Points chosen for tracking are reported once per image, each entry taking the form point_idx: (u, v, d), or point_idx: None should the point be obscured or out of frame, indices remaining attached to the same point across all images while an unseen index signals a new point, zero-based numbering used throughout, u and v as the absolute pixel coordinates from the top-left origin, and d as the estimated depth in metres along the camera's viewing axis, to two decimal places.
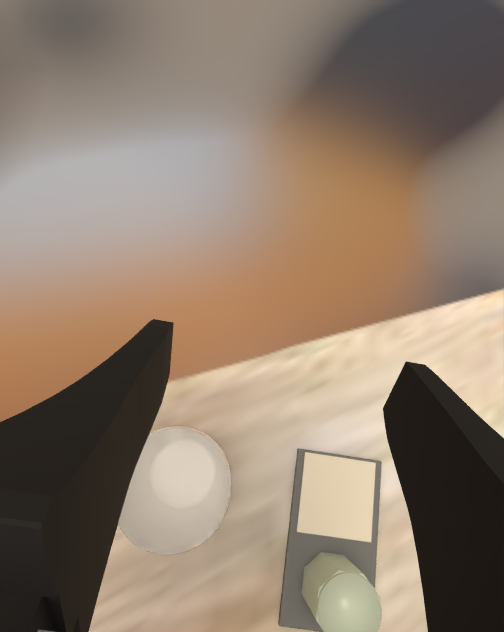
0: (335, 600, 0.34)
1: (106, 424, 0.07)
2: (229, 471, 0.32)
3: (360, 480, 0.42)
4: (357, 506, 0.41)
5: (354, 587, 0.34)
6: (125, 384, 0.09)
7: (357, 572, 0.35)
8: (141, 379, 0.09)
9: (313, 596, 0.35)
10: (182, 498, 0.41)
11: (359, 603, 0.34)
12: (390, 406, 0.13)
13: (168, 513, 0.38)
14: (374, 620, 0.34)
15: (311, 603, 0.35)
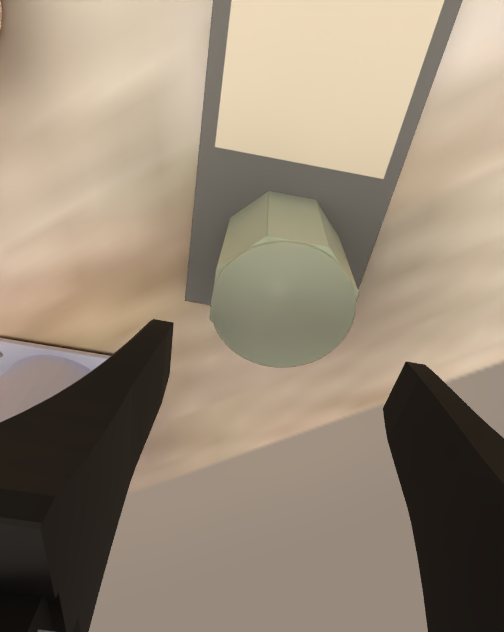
0: (250, 293, 0.15)
1: (106, 424, 0.07)
2: None
3: (396, 17, 0.15)
4: (370, 93, 0.16)
5: (298, 273, 0.14)
6: (125, 384, 0.09)
7: (316, 242, 0.14)
8: (141, 379, 0.09)
9: None
10: None
11: (305, 302, 0.15)
12: (390, 406, 0.13)
13: None
14: (333, 331, 0.16)
15: None
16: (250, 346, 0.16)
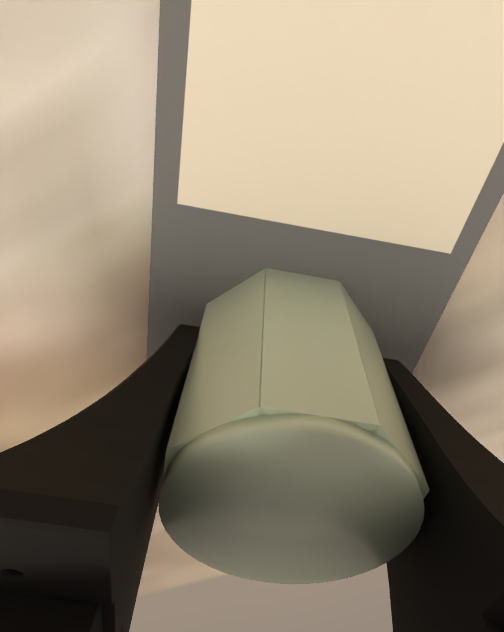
0: (230, 495, 0.08)
1: (152, 431, 0.07)
2: None
3: None
4: (440, 119, 0.09)
5: (321, 472, 0.07)
6: (163, 390, 0.09)
7: (354, 411, 0.08)
8: (176, 385, 0.09)
9: None
10: None
11: (332, 509, 0.08)
12: None
13: None
14: (379, 546, 0.09)
15: None
16: (232, 558, 0.09)
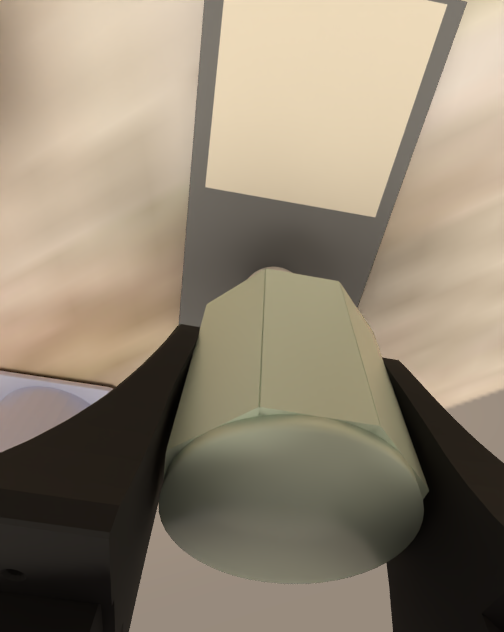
0: (230, 495, 0.08)
1: (152, 431, 0.07)
2: None
3: (385, 62, 0.15)
4: (360, 135, 0.16)
5: (321, 471, 0.07)
6: (163, 390, 0.09)
7: (353, 411, 0.08)
8: (176, 385, 0.09)
9: None
10: None
11: (331, 509, 0.08)
12: None
13: None
14: (379, 546, 0.09)
15: None
16: (232, 558, 0.09)
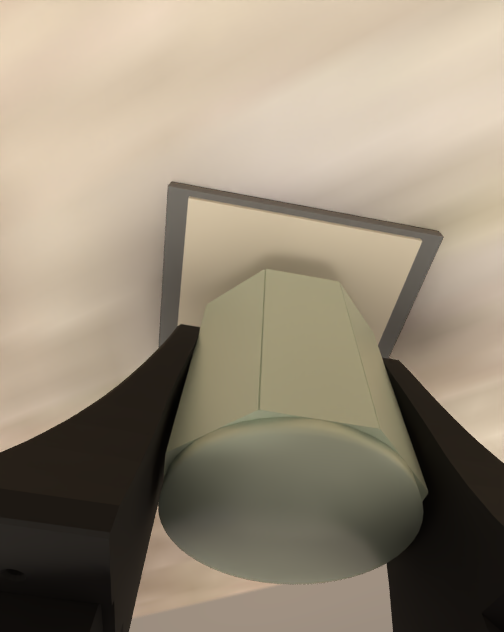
0: (229, 497, 0.08)
1: (152, 431, 0.07)
2: None
3: (357, 285, 0.14)
4: None
5: (320, 474, 0.07)
6: (163, 390, 0.09)
7: (353, 414, 0.08)
8: (176, 385, 0.09)
9: None
10: None
11: (331, 511, 0.08)
12: None
13: None
14: (378, 548, 0.09)
15: None
16: (232, 559, 0.09)
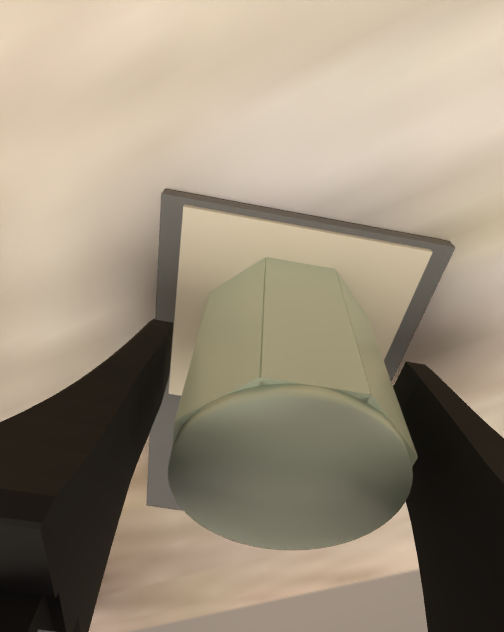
0: (233, 461, 0.09)
1: (106, 424, 0.07)
2: None
3: (363, 298, 0.13)
4: None
5: (317, 436, 0.08)
6: (125, 384, 0.09)
7: (347, 382, 0.08)
8: (141, 379, 0.09)
9: None
10: None
11: (327, 474, 0.09)
12: None
13: None
14: (372, 511, 0.09)
15: None
16: (236, 525, 0.10)
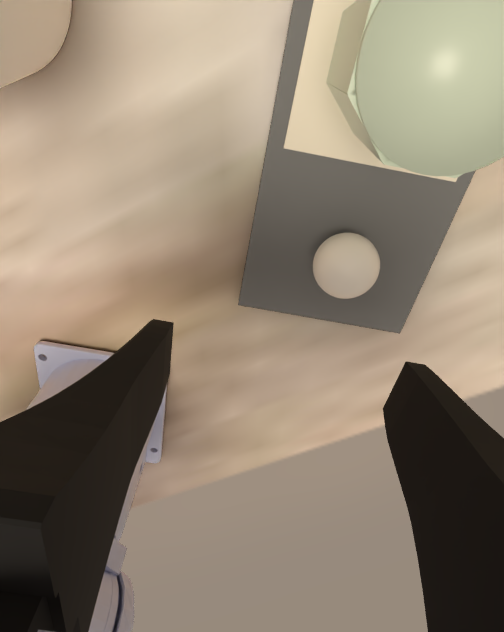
0: (425, 28, 0.10)
1: (106, 424, 0.07)
2: None
3: None
4: None
5: None
6: (125, 384, 0.09)
7: None
8: (141, 379, 0.09)
9: (352, 42, 0.12)
10: None
11: None
12: (390, 406, 0.13)
13: None
14: None
15: (343, 69, 0.12)
16: (404, 137, 0.11)
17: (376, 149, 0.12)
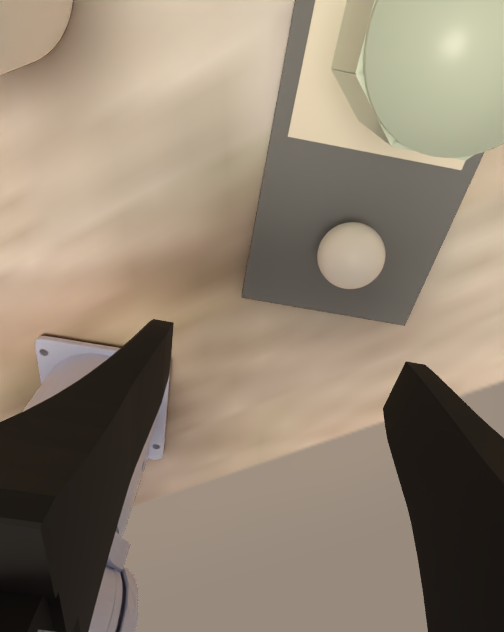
0: (435, 4, 0.10)
1: (106, 424, 0.07)
2: None
3: None
4: None
5: None
6: (125, 384, 0.09)
7: None
8: (141, 379, 0.09)
9: (360, 22, 0.11)
10: None
11: None
12: (390, 406, 0.13)
13: None
14: None
15: (350, 51, 0.12)
16: (413, 118, 0.11)
17: (384, 131, 0.12)
